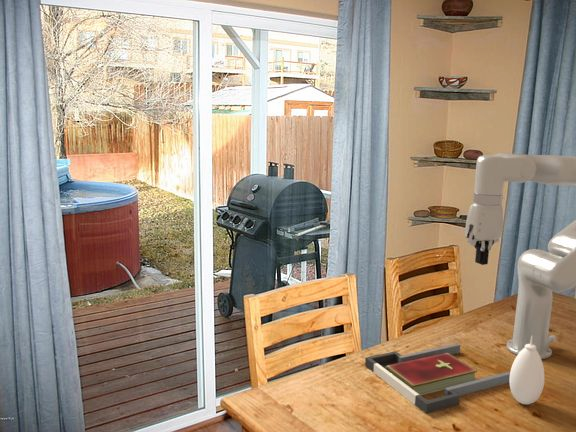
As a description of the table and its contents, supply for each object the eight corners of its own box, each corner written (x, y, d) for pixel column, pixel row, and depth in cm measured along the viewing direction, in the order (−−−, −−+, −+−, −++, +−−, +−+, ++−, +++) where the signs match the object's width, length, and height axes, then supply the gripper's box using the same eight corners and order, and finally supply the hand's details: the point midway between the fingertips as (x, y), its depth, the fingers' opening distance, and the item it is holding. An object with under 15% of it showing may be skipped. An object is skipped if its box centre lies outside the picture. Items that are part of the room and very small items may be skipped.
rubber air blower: (512, 391, 139) (520, 326, 136) (544, 401, 134) (553, 335, 131) (502, 403, 133) (510, 336, 130) (536, 414, 128) (544, 345, 125)
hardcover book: (385, 378, 145) (385, 364, 144) (445, 364, 154) (446, 351, 153) (412, 400, 135) (413, 384, 134) (475, 384, 143) (477, 369, 142)
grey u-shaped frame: (450, 347, 164) (450, 339, 164) (519, 387, 141) (520, 378, 141) (365, 365, 151) (365, 357, 151) (426, 413, 128) (426, 404, 127)
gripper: (496, 196, 155) (490, 257, 158) (457, 199, 148) (451, 262, 152) (517, 200, 148) (510, 264, 152) (477, 203, 142) (471, 269, 145)
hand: (481, 263), depth 152 cm, fingers closed
